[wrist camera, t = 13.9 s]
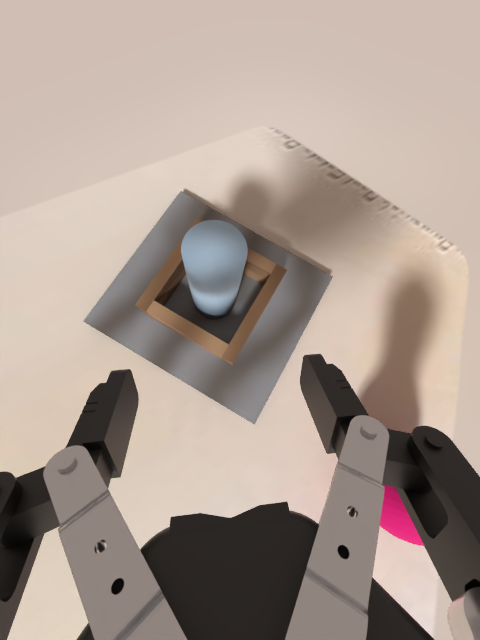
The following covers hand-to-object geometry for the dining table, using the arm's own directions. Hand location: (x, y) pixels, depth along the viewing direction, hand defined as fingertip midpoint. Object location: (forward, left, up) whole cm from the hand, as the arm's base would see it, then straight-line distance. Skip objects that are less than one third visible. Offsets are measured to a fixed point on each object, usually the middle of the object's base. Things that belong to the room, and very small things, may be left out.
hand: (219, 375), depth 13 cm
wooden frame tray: (-5, +7, -16) cm, 18 cm away
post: (-5, +7, -15) cm, 17 cm away
